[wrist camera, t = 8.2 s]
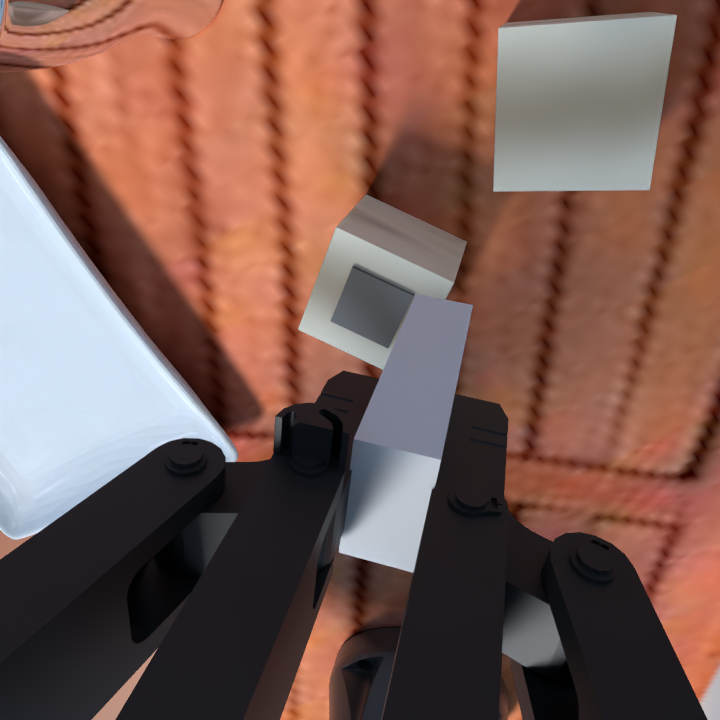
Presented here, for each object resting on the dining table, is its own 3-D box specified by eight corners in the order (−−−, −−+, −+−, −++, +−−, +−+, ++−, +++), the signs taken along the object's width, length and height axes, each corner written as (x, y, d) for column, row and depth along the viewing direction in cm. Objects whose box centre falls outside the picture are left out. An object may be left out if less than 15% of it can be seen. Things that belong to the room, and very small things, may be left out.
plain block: (630, 156, 29) (649, 190, 24) (501, 159, 31) (493, 191, 26) (651, 11, 26) (677, 15, 21) (506, 22, 28) (498, 27, 23)
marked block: (422, 328, 36) (402, 381, 31) (330, 285, 36) (296, 331, 31) (467, 241, 33) (453, 284, 28) (366, 194, 33) (335, 228, 28)
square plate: (-200, 265, 47) (-254, 284, 44) (2, 71, 35) (-52, 79, 32) (36, 517, 56) (5, 549, 53) (263, 432, 44) (241, 467, 41)
